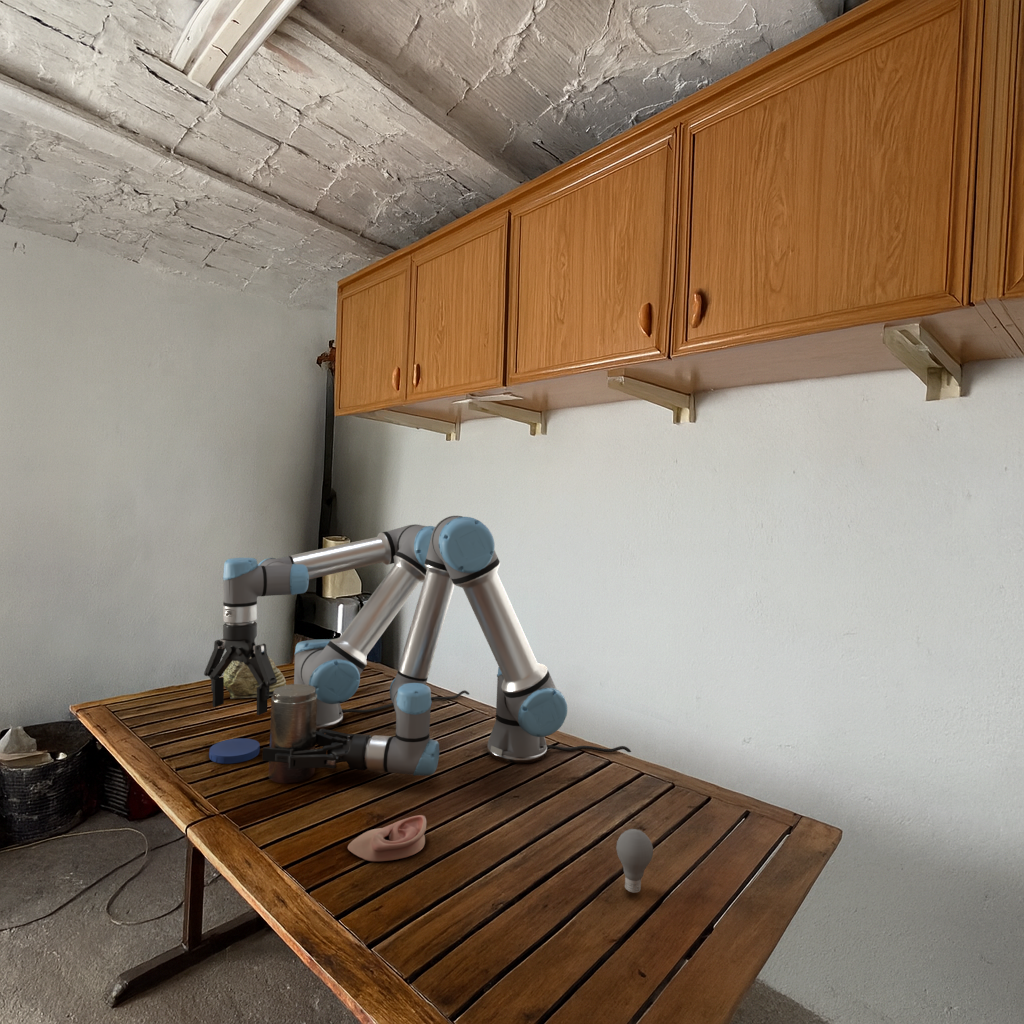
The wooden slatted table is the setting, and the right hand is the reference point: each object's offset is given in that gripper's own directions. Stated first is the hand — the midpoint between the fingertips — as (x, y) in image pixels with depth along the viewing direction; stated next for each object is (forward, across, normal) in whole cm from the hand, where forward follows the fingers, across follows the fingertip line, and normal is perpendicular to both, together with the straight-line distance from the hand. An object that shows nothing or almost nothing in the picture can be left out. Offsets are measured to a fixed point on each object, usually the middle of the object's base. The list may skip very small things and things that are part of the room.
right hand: (274, 744), depth 144 cm
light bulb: (-78, -31, -6) cm, 84 cm away
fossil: (+31, +51, -6) cm, 60 cm away
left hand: (+13, +8, +4) cm, 16 cm away
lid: (+14, +8, -5) cm, 16 cm away
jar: (-4, 0, -6) cm, 8 cm away
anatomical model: (-34, -25, -6) cm, 43 cm away
